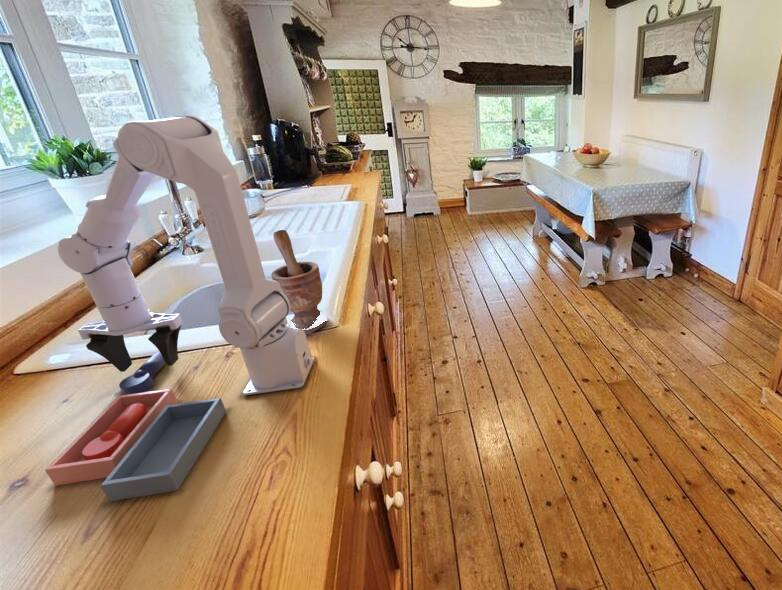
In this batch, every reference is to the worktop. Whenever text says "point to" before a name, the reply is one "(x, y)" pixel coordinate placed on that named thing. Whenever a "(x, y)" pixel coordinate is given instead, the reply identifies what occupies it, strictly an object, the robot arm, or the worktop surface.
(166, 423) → the blue bin
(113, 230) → the robot arm
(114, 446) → the red rubber stamp
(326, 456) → the worktop surface
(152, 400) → the red bin
